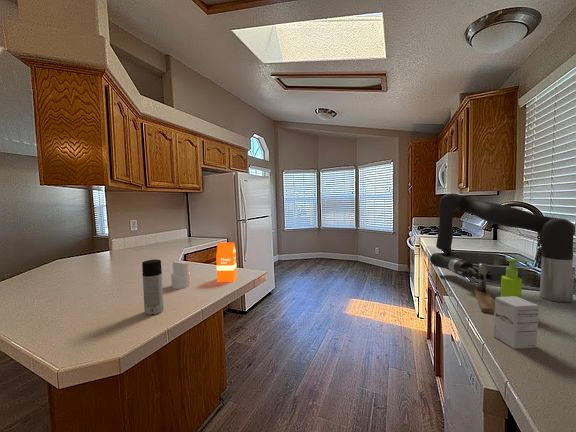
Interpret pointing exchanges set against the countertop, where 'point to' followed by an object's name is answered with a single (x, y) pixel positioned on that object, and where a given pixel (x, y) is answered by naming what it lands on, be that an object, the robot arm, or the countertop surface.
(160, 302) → the spray can
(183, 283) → the white lidded jar
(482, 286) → the base with upright cylinder
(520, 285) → the soap dispenser
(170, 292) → the countertop surface
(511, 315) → the supplement box
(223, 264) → the orange juice
